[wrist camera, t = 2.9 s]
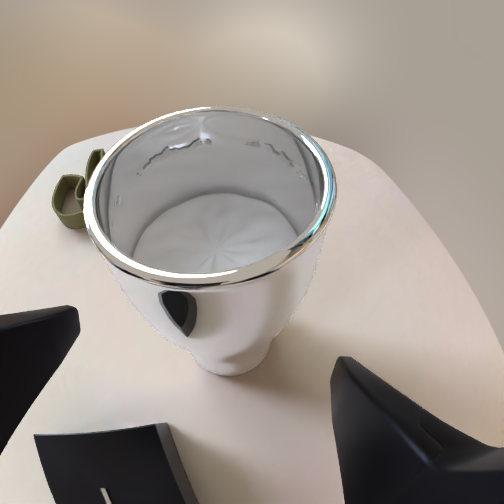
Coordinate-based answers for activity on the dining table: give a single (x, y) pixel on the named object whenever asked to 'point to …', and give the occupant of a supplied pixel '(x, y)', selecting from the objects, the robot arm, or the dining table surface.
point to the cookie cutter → (80, 184)
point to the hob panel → (115, 467)
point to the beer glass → (213, 227)
